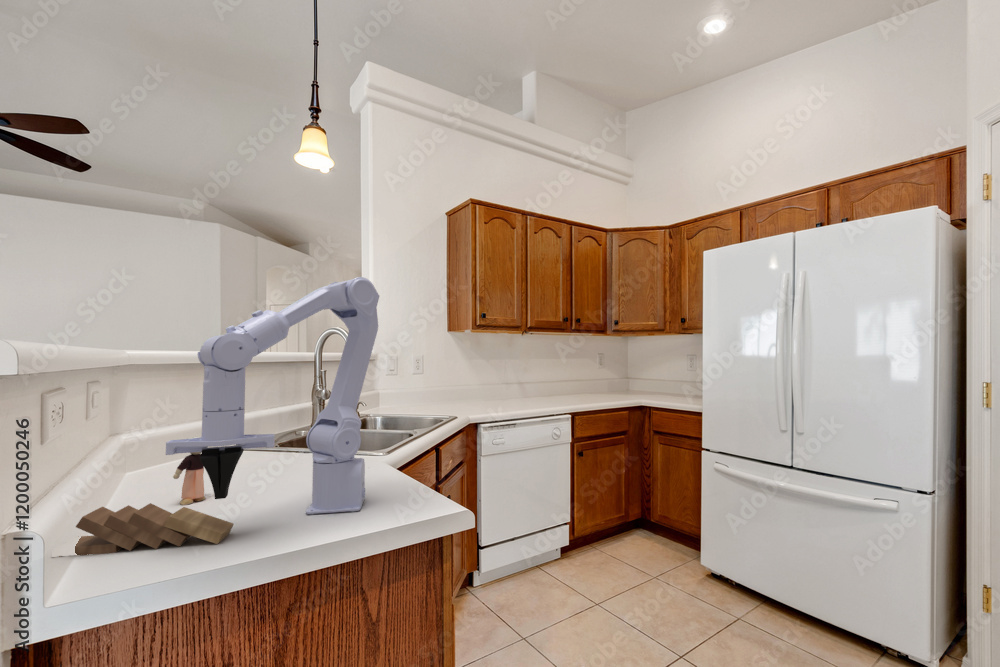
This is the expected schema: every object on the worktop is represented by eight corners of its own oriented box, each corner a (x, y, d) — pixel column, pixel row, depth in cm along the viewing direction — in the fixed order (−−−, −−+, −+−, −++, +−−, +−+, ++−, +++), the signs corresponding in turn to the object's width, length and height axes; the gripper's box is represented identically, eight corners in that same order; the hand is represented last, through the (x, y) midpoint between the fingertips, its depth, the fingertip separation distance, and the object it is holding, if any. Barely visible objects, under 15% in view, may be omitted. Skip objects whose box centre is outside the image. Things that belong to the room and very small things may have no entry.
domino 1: (153, 529, 69) (102, 506, 68) (136, 540, 65) (82, 516, 64) (146, 538, 69) (95, 516, 68) (130, 550, 65) (75, 527, 63)
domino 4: (198, 525, 71) (150, 503, 69) (185, 536, 66) (133, 512, 65) (192, 535, 71) (144, 512, 69) (179, 546, 66) (127, 522, 65)
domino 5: (233, 523, 72) (184, 506, 70) (222, 533, 67) (169, 516, 66) (229, 533, 71) (179, 516, 70) (217, 544, 67) (163, 526, 66)
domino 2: (134, 532, 69) (74, 536, 67) (116, 543, 65) (51, 548, 63) (134, 542, 69) (74, 547, 67) (115, 554, 65) (51, 560, 63)
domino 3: (177, 528, 70) (128, 505, 69) (162, 539, 66) (110, 514, 65) (171, 537, 70) (122, 514, 69) (156, 549, 66) (103, 525, 64)
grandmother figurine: (185, 507, 85) (188, 440, 85) (169, 506, 85) (171, 439, 86) (218, 495, 92) (220, 433, 93) (203, 494, 93) (205, 433, 94)
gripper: (277, 405, 77) (275, 485, 76) (177, 409, 71) (174, 495, 71) (272, 409, 70) (270, 496, 69) (162, 414, 65) (158, 509, 64)
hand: (221, 497), depth 70 cm, fingers closed
